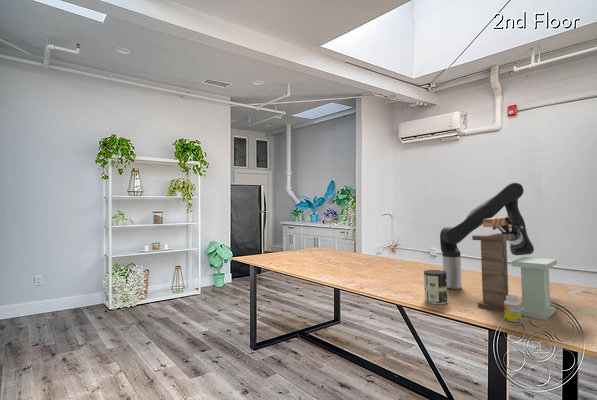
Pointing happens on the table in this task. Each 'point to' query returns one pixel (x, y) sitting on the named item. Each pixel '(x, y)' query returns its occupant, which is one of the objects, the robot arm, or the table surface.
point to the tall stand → (494, 269)
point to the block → (494, 222)
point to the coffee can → (435, 286)
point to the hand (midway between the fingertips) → (501, 218)
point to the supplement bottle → (512, 310)
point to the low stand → (535, 286)
